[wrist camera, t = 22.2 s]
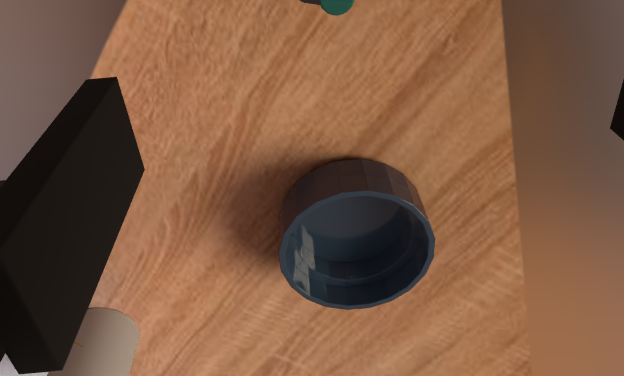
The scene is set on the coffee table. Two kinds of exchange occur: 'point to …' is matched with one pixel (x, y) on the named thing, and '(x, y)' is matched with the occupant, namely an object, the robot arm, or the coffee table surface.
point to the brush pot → (311, 1)
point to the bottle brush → (336, 6)
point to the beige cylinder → (102, 345)
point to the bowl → (354, 235)
